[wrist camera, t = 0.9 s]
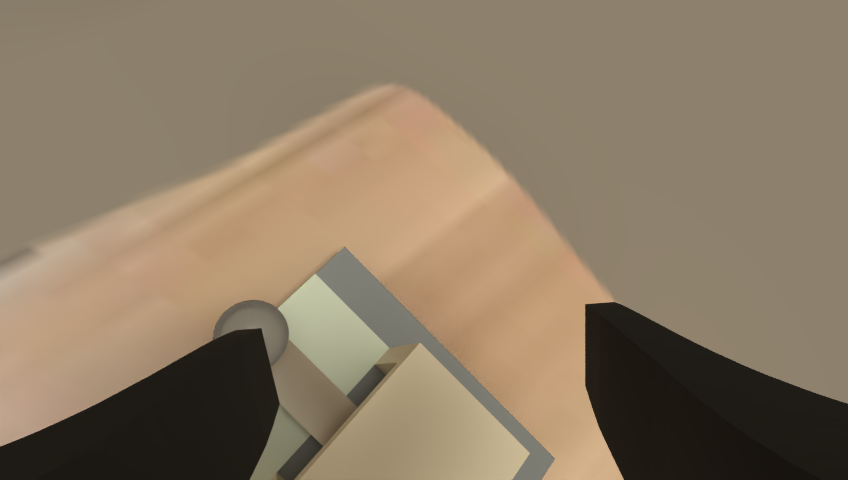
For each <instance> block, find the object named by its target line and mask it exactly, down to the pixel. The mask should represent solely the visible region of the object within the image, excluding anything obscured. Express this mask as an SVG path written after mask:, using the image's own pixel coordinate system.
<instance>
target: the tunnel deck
mask: <svg viewBox="0 0 848 480" xmlns="http://www.w3.org/2000/svg"><path fill="white" fill-rule="evenodd" d="M278 310H279V311H280V312H281V313H282V314H283V316H284V317H285V319H286V321H287V324H288V329H289V340H290V341H291V342H292V343H293V344H294V345H295V346H296V347H297V348H298V349H299V350H300V351H301V352H302V353H303V354H304V355H305V356H306V357H307V358H308V359H309V360H310V361H311V362H312V363H313V364H314V365H315V366H316V367H317V368H318V369H319V370H320V371H321V372H322V373H323V374H324V375H325V376H326V377H327V378H328V379H329V380H330V381H331V382H332V383H333V384H334V385H335V386H336V387H337V388H338V389H340V390H341V391H342V392H343V393H344V394H345V395H346V396H347V397H348V398H349V399H350V400H351V401H352V402H353V403H354V404H355V405H356V406H357V407H358V408H357V409H356V410H355V411H354V412H353V414H352V415H351V416H350V417H349V418H348V419H347V420H346V421H345V423H344V424H343V425H342V426H341V427H340V428H339V429H338V430H337V432H336V433H335V434H334V435H333V436H332V437H331V438H330V439H329V441H328V442H327V443H326V444H325V445H324V446H322V445H321V444H320V443H319V442H318V441H317V440H316V439H315V438H314V437H313V436H312V435H311V434H310V433H309V432H308V431H307V430H306V429H305V428H304V427H303V426H302V425H301V424H300V423H299V422H298V421H297V420H296V419H295V418H294V417H293V416H292V415H291V414H290V413H289V412H288V411H287V410H286V409H285V408H284V407H283V406H282V405H281V404H280V405H279V408H278V412H277V415H276V418H275V421H274V425H273V428H272V430H271V433H270V436H269V439H268V442H267V445H266V447H265V449H264V451H263V453H262V456H261V458H260V460H259V462H258V464H257V466H256V468H255V470H254V472H253V474H252V476H251V478H250V480H542V478H543V477H544V475H545V473H546V472H547V470H548V469H549V467H550V466H551V464H552V463H553V461H554V459H555V458H554V457H553V456H552V455H551V454H550V453H549V452H548V451H547V450H546V449H545V448H544V447H543V446H542V445H541V444H540V443H539V442H538V441H537V440H536V439H535V438H534V437H533V436H532V435H531V434H530V433H529V432H528V431H527V430H526V429H525V428H524V427H523V426H522V425H521V424H520V423H519V422H518V421H517V420H516V419H515V418H514V417H513V416H512V415H511V414H510V413H509V412H508V411H507V410H506V409H505V408H504V407H503V406H502V405H501V404H500V403H499V402H498V401H497V400H496V399H495V398H494V397H493V396H492V395H491V394H490V393H489V392H488V391H487V390H486V389H485V388H484V387H483V386H482V385H481V384H480V383H479V382H478V381H477V380H476V379H475V378H474V377H473V376H472V375H471V373H470V372H469V371H468V370H467V369H466V368H465V367H464V366H463V365H462V364H461V363H460V362H459V361H458V360H457V359H456V358H455V357H454V356H453V355H452V354H451V353H450V352H449V351H448V350H447V349H446V348H445V347H444V346H443V345H442V344H441V343H440V342H439V341H438V340H437V339H436V338H435V337H434V336H433V335H432V334H431V333H430V332H429V331H428V330H427V329H426V328H425V327H424V326H423V325H422V324H421V323H420V322H419V321H418V320H417V319H416V318H415V317H414V316H413V315H412V314H411V313H410V312H409V311H408V310H407V309H406V308H405V307H404V306H403V305H402V304H401V303H400V302H399V301H398V300H397V299H396V298H395V297H394V296H393V295H392V294H391V293H390V292H389V291H388V290H387V289H386V288H385V287H384V286H383V285H382V284H381V283H380V282H379V281H378V280H377V279H376V278H375V277H374V276H373V275H372V274H371V273H370V272H369V271H368V270H367V269H366V268H365V267H364V266H363V265H362V264H361V263H360V262H359V261H358V260H357V259H356V258H355V257H354V256H353V255H352V254H351V253H350V252H349V251H348V249H347V248H346V247H344V248H343V249H342V250H341V251H340V252H339V253H337V254H336V255H335V256H334V257H333V258H332V259H331V260H330V261H329V262H328V263H327V264H326V265H325V266H323V267H322V268H321V269H320V270H319V271H318V272H317V273H316V274H314V275H313V276H312V277H311V278H310V279H309V280H308V281H307V282H306V283H305V284H303V285H302V286H301V287H300V288H299V289H298V290H297V291H296V292H295V293H294V294H293V295H292V296H291V297H289V298H288V299H287V300H286V301H285V302H284V303H283V304H282V305H281V306H280V307H279V308H278Z"/></svg>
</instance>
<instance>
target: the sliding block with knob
mask: <svg viewBox="0 0 848 480" xmlns="http://www.w3.org/2000/svg"><path fill="white" fill-rule="evenodd" d="M256 328H262V332H263V337H264V341H265V345H266V349H267V353H268V357H269V361H270V365H271V370H272V374H273V378H274V382H275V386H276V390H277V394H278V398H279V402H280V404H281V405H282V406H283V407H284V408H285V409H286V410H287V411H288V412H289V413H290V414H291V415H292V416H293V417H294V418H295V419H296V420H297V421H298V422H299V423H300V424H301V425H302V426H303V427H304V428H305V429H306V430H307V431H308V432H309V433H310V434H311V435H312V436H313V437H314V438H315V439H316V440H317V441H318V442H319V443H320V444H321V445H322V446H324V445H325V444H326V443H327V442H328V441H329V439H330V438H331V437H332V436H333V435H334V434H335V433H336V432H337V430H338V429H339V428H340V427H341V426H342V425H343V424H344V423H345V421H346V420H347V419H348V418H349V417H350V416H351V415H352V414H353V412H354V411H355V410H356V409H357V408H358V407H357V406H356V405H355V404H354V403H353V402H352V401H351V400H350V399H349V398H348V397H347V396H346V395H345V394H344V393H343V392H342V391H341V390H340V389H338V388H337V387H336V386H335V385H334V384H333V383H332V382H331V381H330V380H329V379H328V378H327V377H326V376H325V375H324V374H323V373H322V372H321V371H320V370H319V369H318V368H317V367H316V366H315V365H314V364H313V363H312V362H311V361H310V360H309V359H308V358H307V357H306V356H305V355H304V354H303V353H302V352H301V351H300V350H299V349H298V348H297V347H296V346H295V345H294V344H293V343H292V342H291V341H290V340H289V329H288V324H287V321H286V319H285V317H284V316H283V314H282V313H281V312H280V311H279V310H278V309H277V308H276V307H274V306H273V305H271V304H269V303H267V302H264V301H259V300H248V301H243V302H240V303H238V304H235V305H234V306H232V307H230V308H229V309H228V310H226V311H225V312H224V313H223V314H222V316H221V317H220V318H219V320H218V322H217V324H216V326H215V329H214V334H213V340H215V339H217V338H219V337H221V336H223V335H225V334H227V333H230V332H232V331H235V330H243V329H256Z"/></svg>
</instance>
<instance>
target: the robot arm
mask: <svg viewBox="0 0 848 480" xmlns="http://www.w3.org/2000/svg"><path fill="white" fill-rule="evenodd" d="M585 386H586V389H587V392H588V395H589V398H590V402H591V405H592V408H593V411H594V414H595V417H596V420H597V423H598V426H599V428H600V430H601V432H602V435H603V437H604V439H605V441H606V443H607V445H608V447H609V449H610V451H611V454H612V456H613V458H614V460H615V462H616V464H617V466H618V468H619V470H620V472H621V474H622V476H623V478H624V480H848V404H847V403H843V402H840V401H837V400H834V399H831V398H828V397H825V396H822V395H819V394H816V393H813V392H810V391H808V390H805V389H802V388H800V387H797V386H794V385H792V384H789V383H786V382H784V381H781V380H778V379H776V378H773V377H770V376H768V375H765V374H763V373H760V372H758V371H755V370H753V369H751V368H748V367H746V366H744V365H741V364H739V363H737V362H735V361H733V360H730V359H728V358H726V357H724V356H722V355H719V354H717V353H715V352H713V351H711V350H709V349H707V348H704V347H702V346H700V345H698V344H696V343H694V342H692V341H690V340H688V339H686V338H684V337H682V336H680V335H678V334H676V333H675V332H673V331H671V330H669V329H667V328H665V327H663V326H661V325H659V324H658V323H655V322H654V321H652V320H650V319H648V318H646V317H644V316H643V315H641V314H639V313H637V312H635V311H633V310H631V309H629V308H627V307H625V306H623V305H621V304H618V303H616V302H610V303H597V304H585ZM279 405H280V402H279V398H278V394H277V390H276V386H275V382H274V378H273V374H272V370H271V365H270V361H269V357H268V353H267V349H266V345H265V341H264V337H263V332H262V328H256V329H243V330H235V331H232V332H230V333H227V334H225V335H223V336H221V337H219V338H217V339H215V340H213V341H211V342H209V343H207V344H205V345H204V346H202V347H200V348H198V349H196V350H195V351H193V352H191V353H189V354H188V355H186V356H184V357H182V358H180V359H179V360H177V361H175V362H173V363H172V364H170V365H168V366H166V367H165V368H163V369H161V370H159V371H158V372H156V373H154V374H152V375H150V376H149V377H147V378H145V379H143V380H141V381H139V382H137V383H135V384H134V385H132V386H130V387H128V388H126V389H124V390H122V391H121V392H119V393H117V394H115V395H113V396H111V397H109V398H107V399H106V400H104V401H102V402H100V403H98V404H96V405H94V406H92V407H90V408H88V409H86V410H84V411H81V412H79V413H77V414H75V415H73V416H71V417H69V418H67V419H64V420H62V421H60V422H58V423H56V424H53V425H51V426H49V427H47V428H45V429H42V430H40V431H38V432H35V433H33V434H31V435H28V436H26V437H24V438H21V439H19V440H16V441H14V442H11V443H9V444H6V445H3V446H1V447H0V480H250V478H251V476H252V474H253V472H254V470H255V468H256V466H257V464H258V462H259V460H260V458H261V456H262V453H263V451H264V449H265V447H266V445H267V442H268V439H269V436H270V433H271V430H272V428H273V425H274V421H275V418H276V415H277V412H278V408H279Z"/></svg>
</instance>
